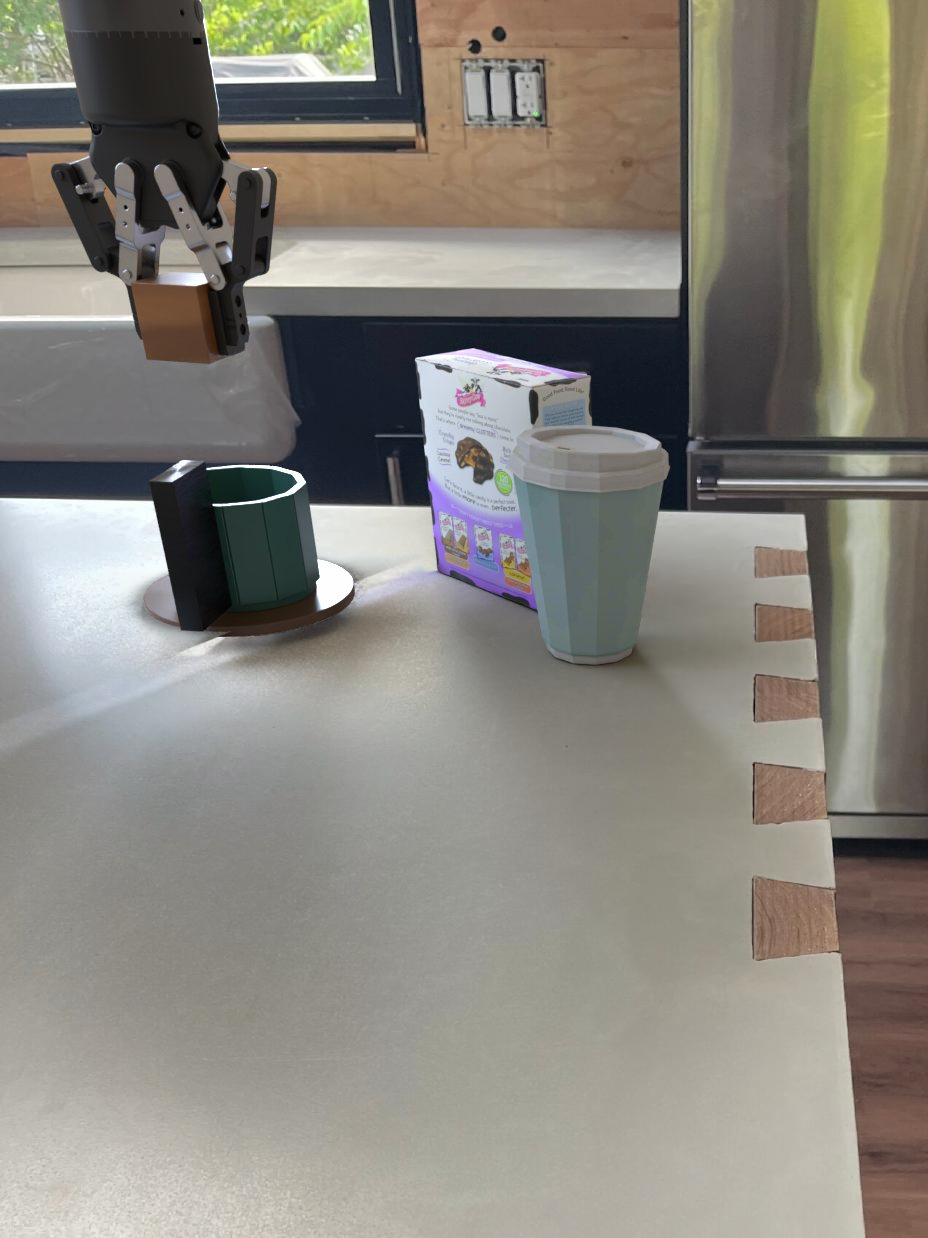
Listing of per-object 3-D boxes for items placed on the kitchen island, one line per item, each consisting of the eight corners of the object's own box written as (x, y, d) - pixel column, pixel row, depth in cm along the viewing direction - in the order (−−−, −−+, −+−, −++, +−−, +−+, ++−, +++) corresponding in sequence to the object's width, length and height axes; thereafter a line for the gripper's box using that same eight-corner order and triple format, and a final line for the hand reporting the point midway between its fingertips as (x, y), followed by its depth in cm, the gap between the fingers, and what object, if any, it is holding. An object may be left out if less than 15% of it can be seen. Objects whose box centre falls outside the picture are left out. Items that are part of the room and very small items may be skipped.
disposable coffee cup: (557, 612, 101) (548, 405, 92) (691, 633, 98) (694, 421, 90) (494, 665, 93) (477, 442, 84) (638, 688, 90) (636, 461, 81)
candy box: (600, 597, 104) (595, 373, 94) (542, 616, 100) (531, 385, 91) (490, 554, 112) (475, 343, 102) (432, 570, 108) (411, 353, 99)
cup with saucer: (197, 560, 106) (167, 410, 100) (380, 570, 105) (362, 419, 98) (91, 644, 92) (47, 476, 85) (302, 657, 90) (274, 487, 84)
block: (210, 364, 82) (195, 286, 80) (146, 360, 83) (129, 282, 81) (246, 350, 86) (233, 274, 83) (184, 346, 87) (170, 271, 84)
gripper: (-22, 22, 73) (60, 356, 83) (214, 26, 70) (270, 370, 80) (63, 22, 79) (130, 333, 89) (283, 25, 76) (327, 346, 86)
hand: (196, 349), depth 84 cm, fingers closed on block, 4 cm apart
